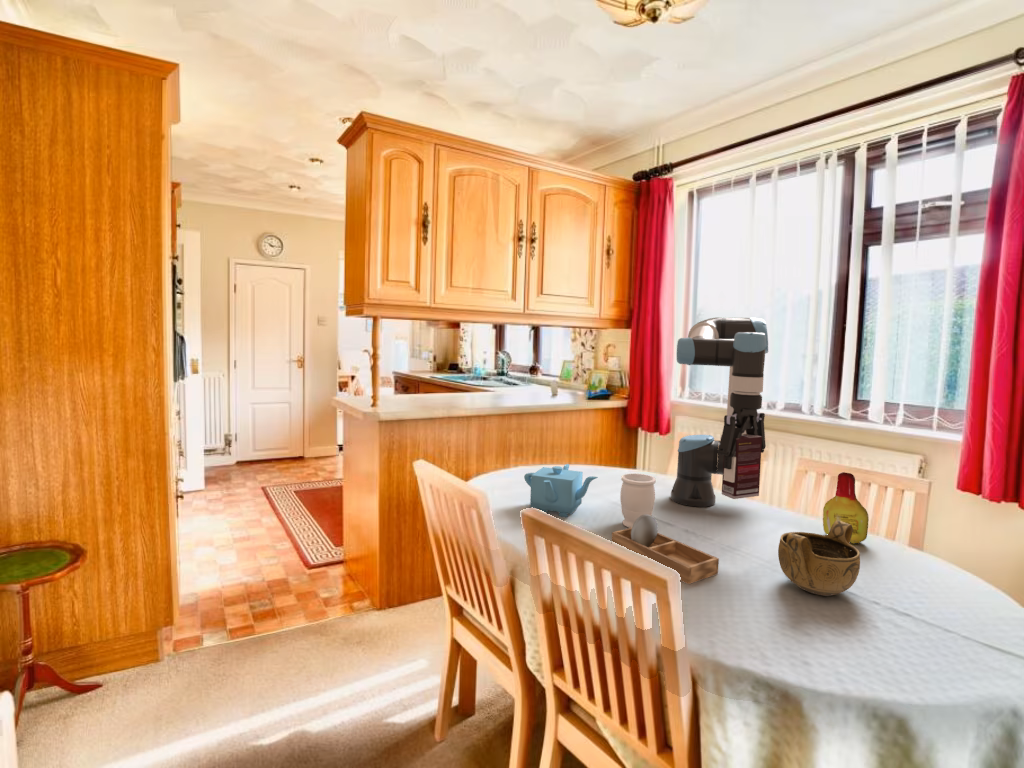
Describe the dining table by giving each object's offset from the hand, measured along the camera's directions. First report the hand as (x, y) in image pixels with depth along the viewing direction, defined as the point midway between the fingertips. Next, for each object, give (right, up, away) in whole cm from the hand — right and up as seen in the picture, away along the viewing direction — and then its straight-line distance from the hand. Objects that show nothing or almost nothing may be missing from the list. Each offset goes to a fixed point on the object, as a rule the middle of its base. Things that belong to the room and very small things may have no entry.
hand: (740, 478), depth 145 cm
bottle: (+38, -21, +18) cm, 47 cm away
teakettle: (-44, -17, +38) cm, 61 cm away
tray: (-20, -22, +1) cm, 30 cm away
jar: (-21, -19, +27) cm, 39 cm away
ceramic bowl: (+12, -24, -13) cm, 30 cm away
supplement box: (0, -5, +1) cm, 5 cm away
